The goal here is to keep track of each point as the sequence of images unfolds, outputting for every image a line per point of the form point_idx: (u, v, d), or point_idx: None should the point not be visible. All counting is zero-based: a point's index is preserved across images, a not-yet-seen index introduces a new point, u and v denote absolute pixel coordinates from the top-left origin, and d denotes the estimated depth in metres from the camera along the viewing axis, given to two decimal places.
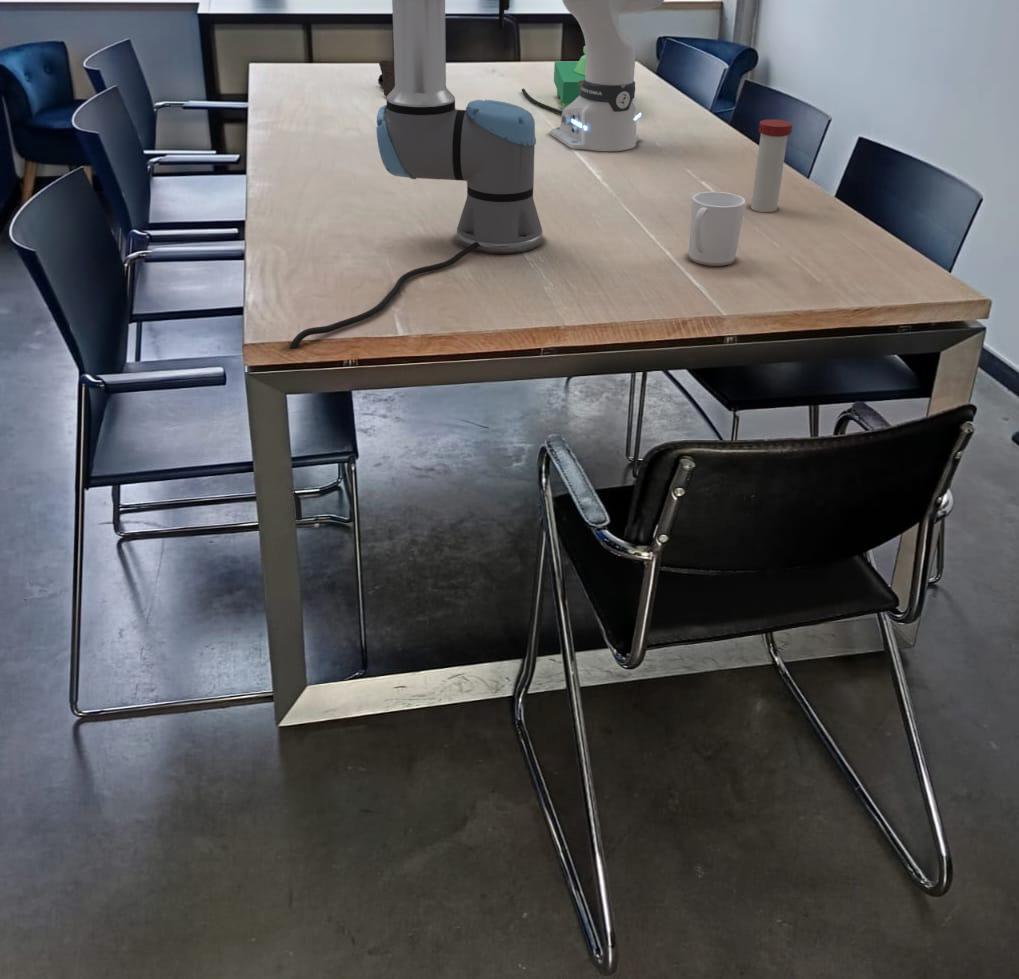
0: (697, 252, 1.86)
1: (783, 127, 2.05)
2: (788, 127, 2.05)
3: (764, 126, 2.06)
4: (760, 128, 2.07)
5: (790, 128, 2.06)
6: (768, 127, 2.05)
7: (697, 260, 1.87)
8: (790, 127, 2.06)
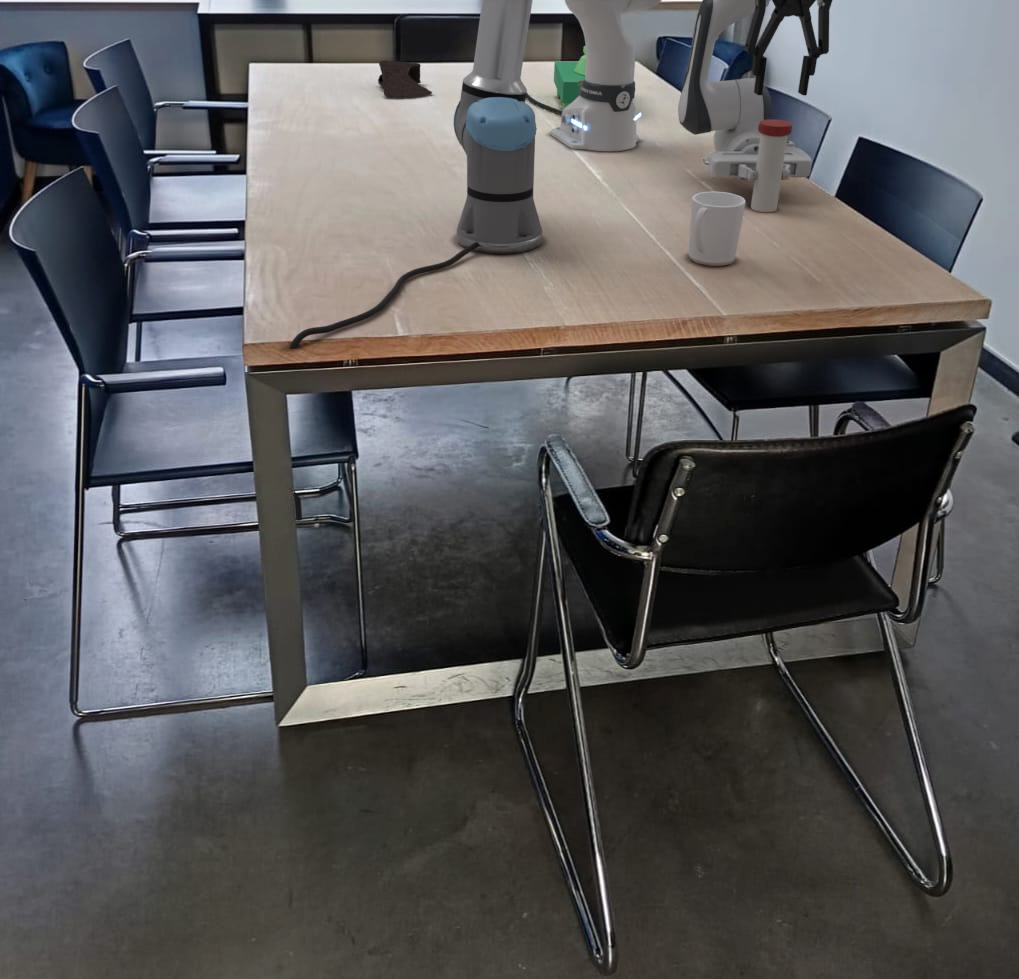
0: (697, 252, 1.86)
1: (783, 127, 2.05)
2: (788, 127, 2.05)
3: (764, 126, 2.06)
4: (760, 128, 2.07)
5: (790, 128, 2.06)
6: (768, 127, 2.05)
7: (697, 260, 1.87)
8: (790, 127, 2.06)
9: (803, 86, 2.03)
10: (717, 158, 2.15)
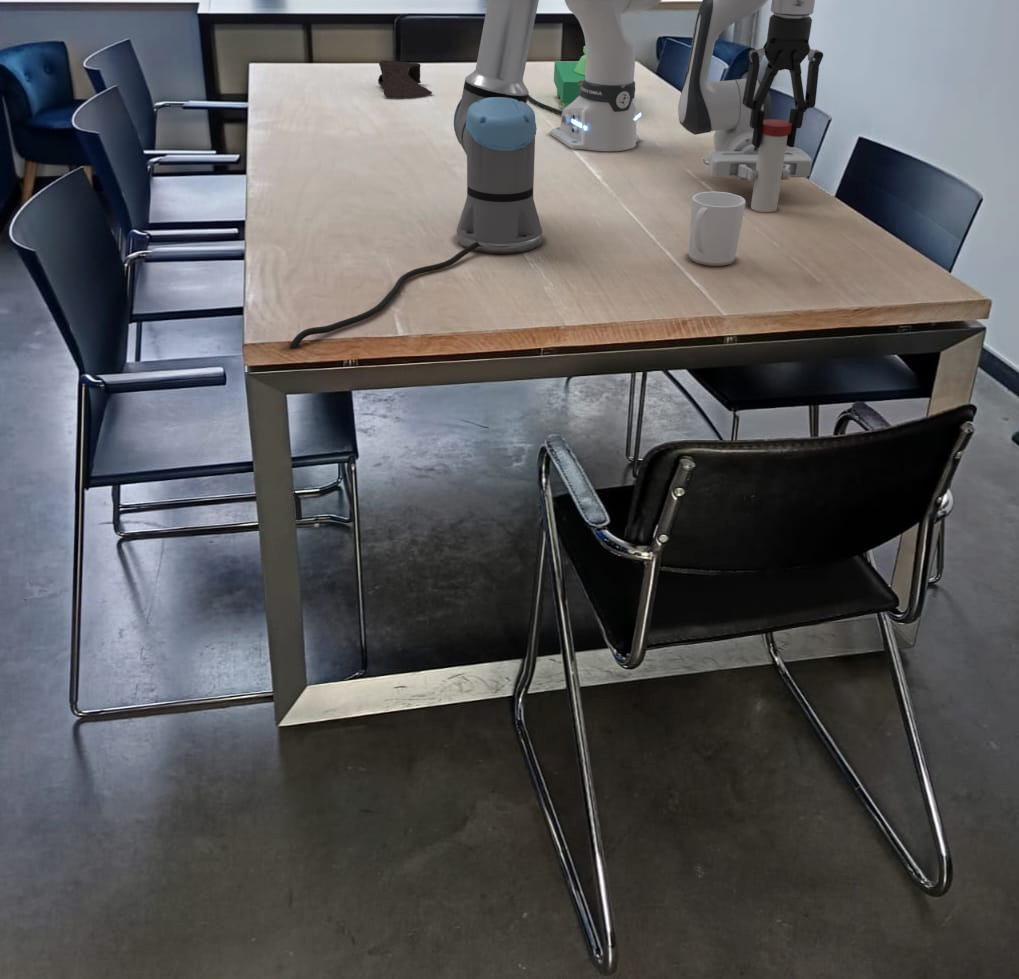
0: (697, 252, 1.86)
1: (783, 127, 2.05)
2: (788, 127, 2.05)
3: (764, 126, 2.06)
4: None
5: (790, 128, 2.06)
6: (768, 127, 2.05)
7: (697, 260, 1.87)
8: (790, 127, 2.06)
9: (790, 138, 2.08)
10: (717, 158, 2.15)
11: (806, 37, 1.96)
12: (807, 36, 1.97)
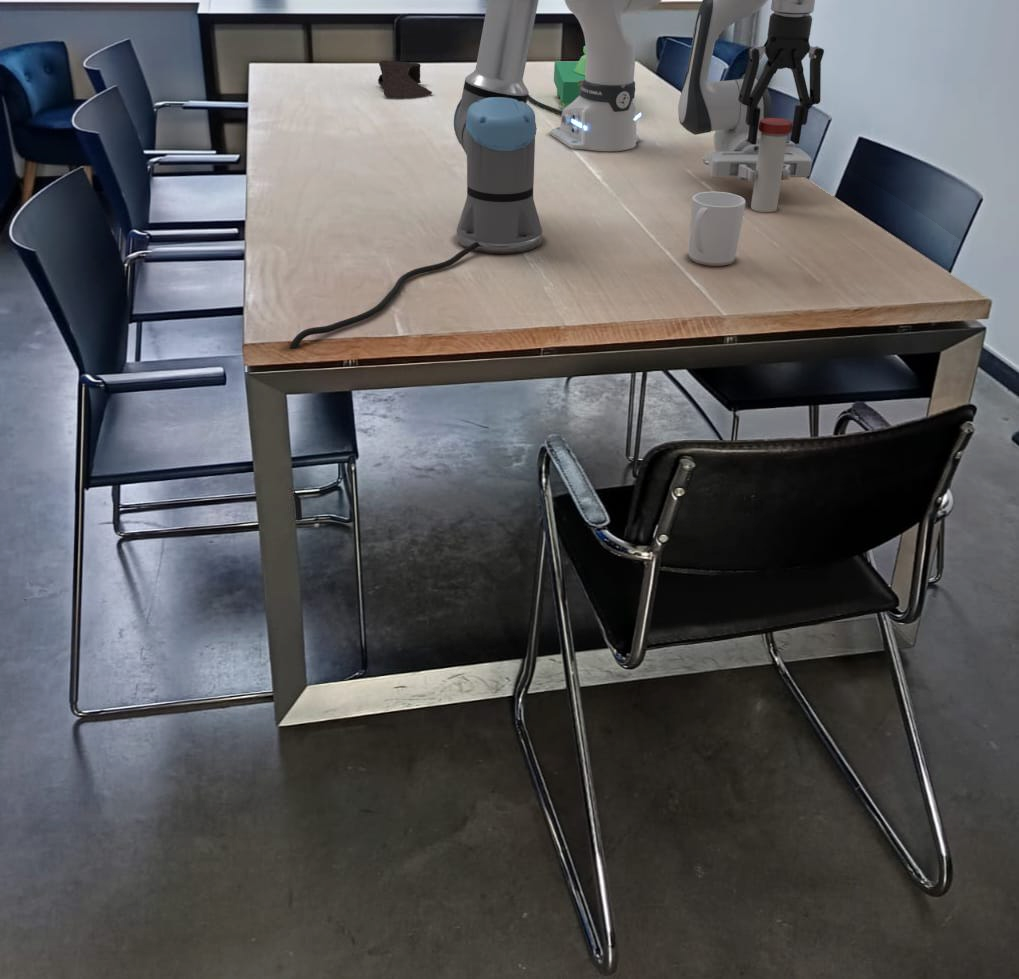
0: (697, 252, 1.86)
1: None
2: None
3: (786, 126, 2.05)
4: (779, 130, 2.05)
5: None
6: (789, 126, 2.05)
7: (697, 260, 1.87)
8: None
9: (795, 135, 2.08)
10: (717, 158, 2.15)
11: (807, 35, 1.96)
12: (808, 34, 1.97)
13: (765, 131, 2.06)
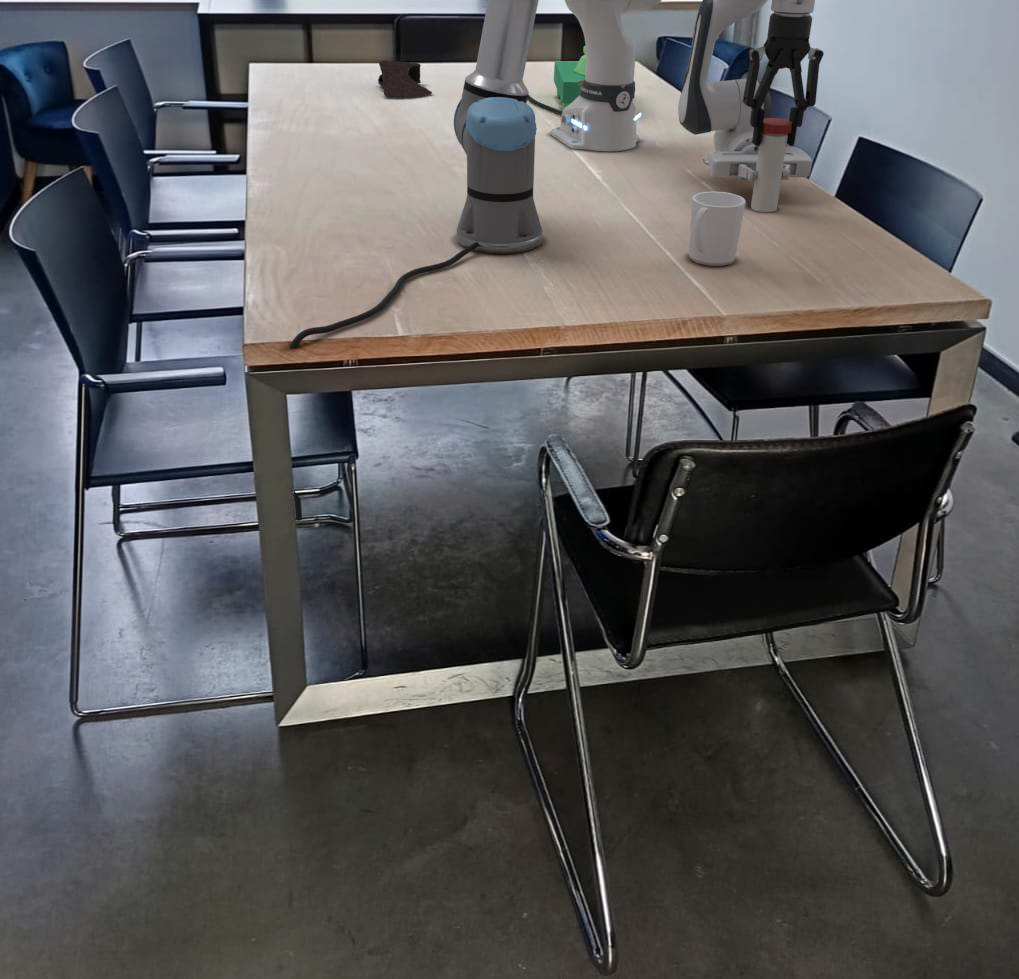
0: (697, 252, 1.86)
1: None
2: None
3: (786, 126, 2.05)
4: (779, 130, 2.05)
5: None
6: (789, 126, 2.05)
7: (697, 260, 1.87)
8: None
9: (790, 137, 2.08)
10: (717, 158, 2.15)
11: (806, 35, 1.96)
12: (807, 34, 1.96)
13: (765, 131, 2.06)
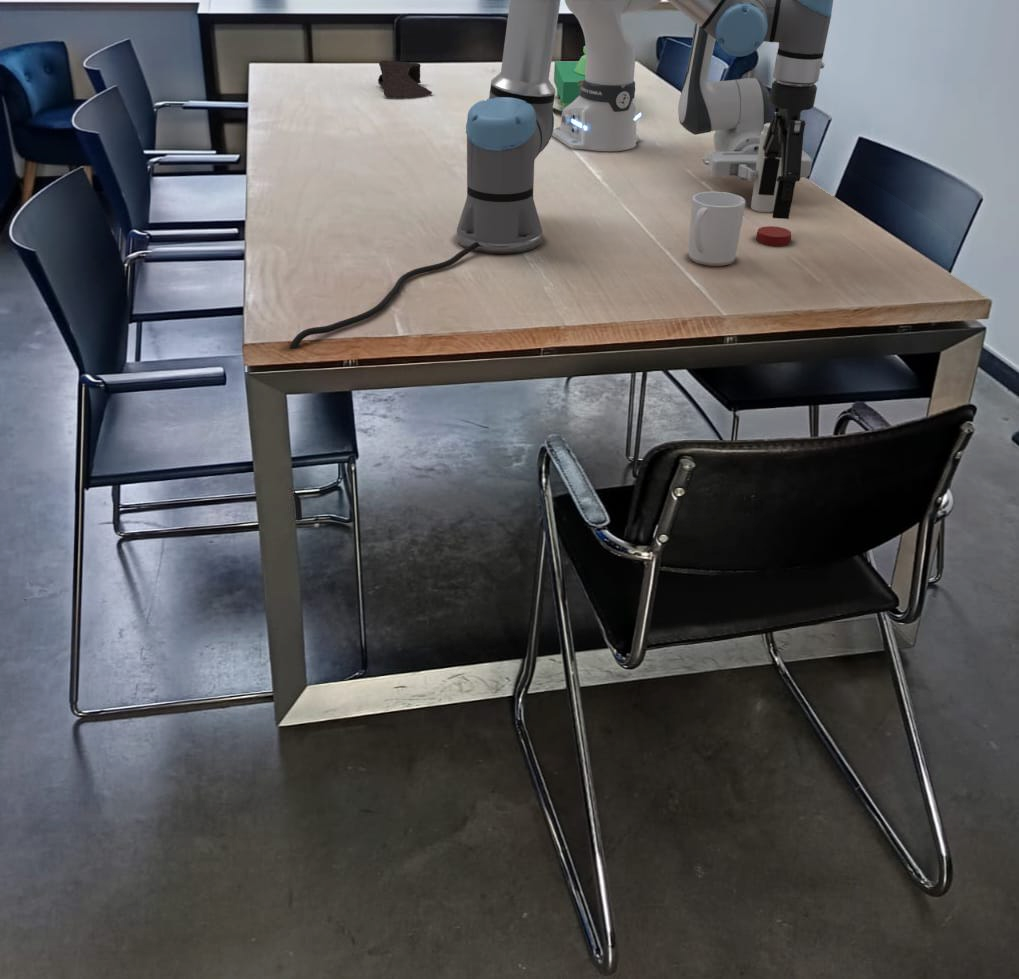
0: (697, 252, 1.86)
1: None
2: None
3: None
4: None
5: None
6: None
7: (697, 260, 1.87)
8: None
9: (773, 187, 2.00)
10: (717, 158, 2.15)
11: None
12: None
13: (785, 243, 1.97)
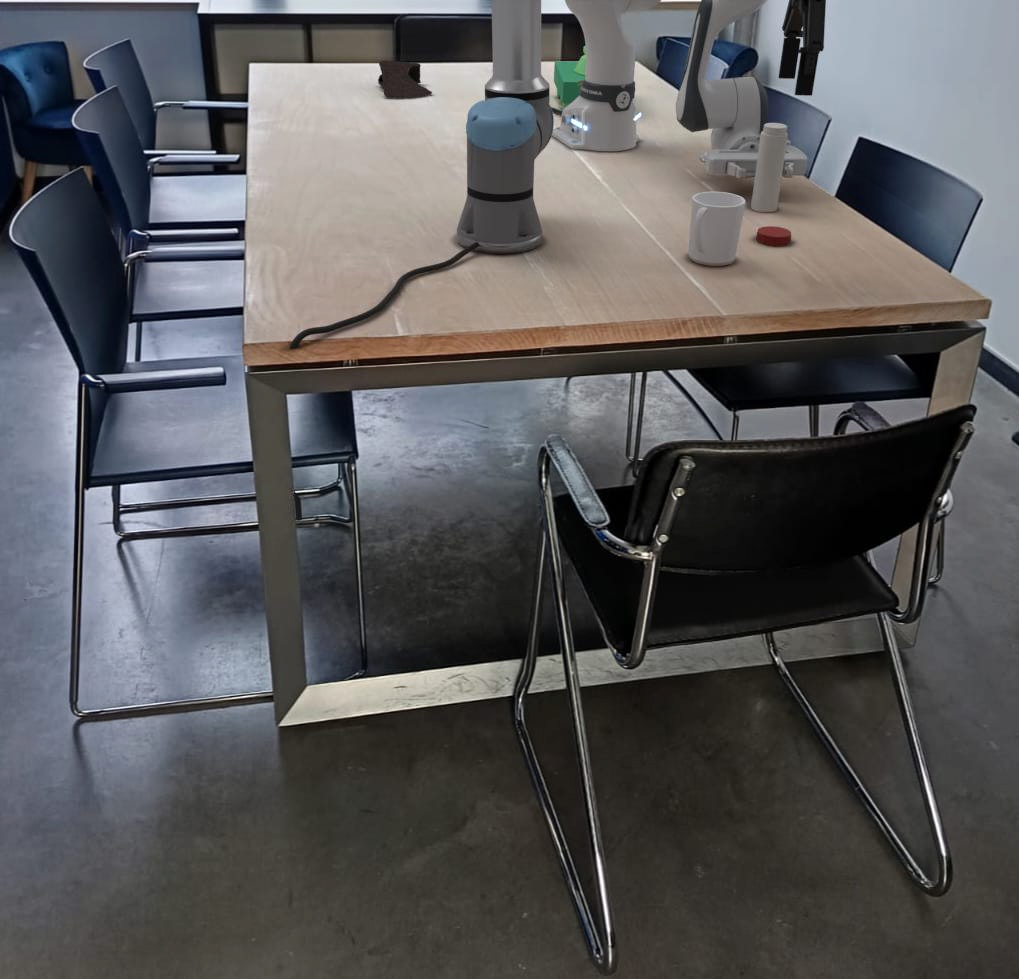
0: (697, 252, 1.86)
1: None
2: None
3: None
4: None
5: None
6: None
7: (697, 260, 1.87)
8: None
9: (793, 69, 1.90)
10: (713, 156, 2.16)
11: None
12: None
13: (785, 243, 1.97)
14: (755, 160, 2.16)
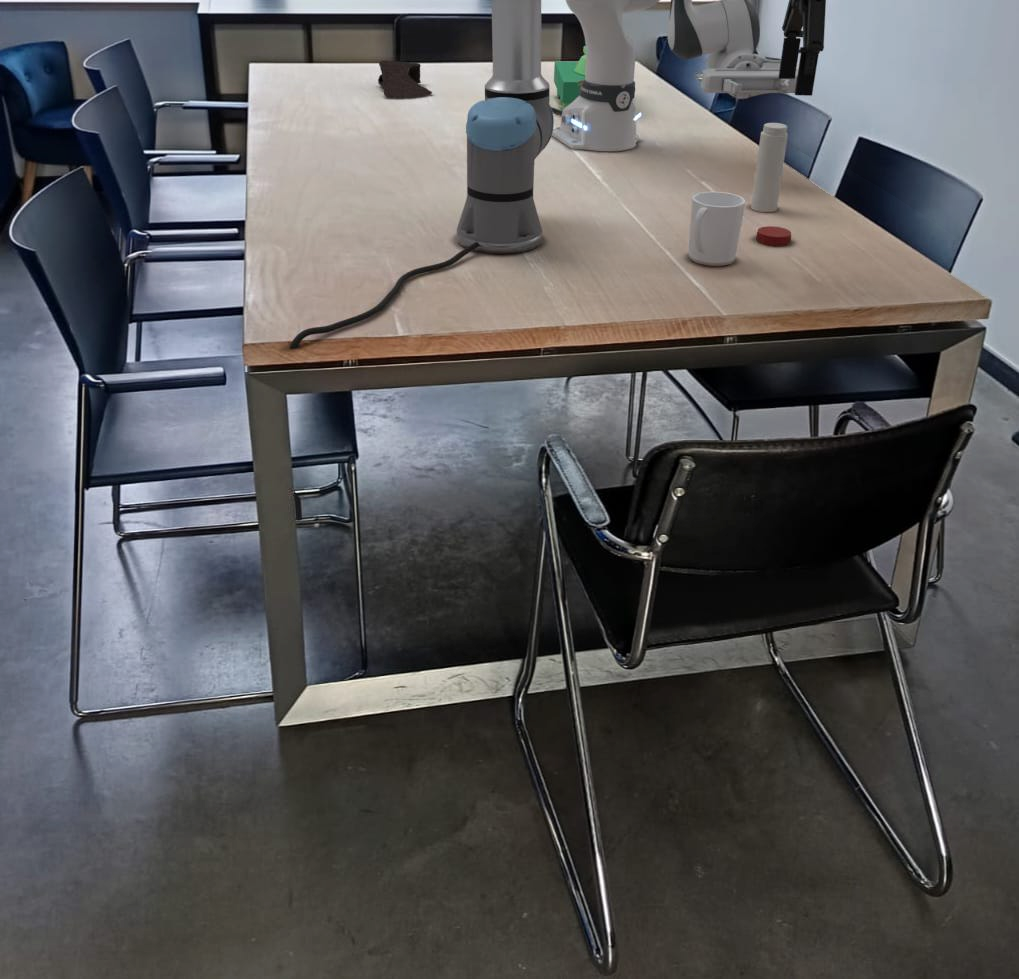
0: (697, 252, 1.86)
1: None
2: None
3: None
4: None
5: None
6: None
7: (697, 260, 1.87)
8: None
9: (794, 69, 1.90)
10: (710, 73, 2.18)
11: None
12: None
13: (785, 243, 1.97)
14: (751, 77, 2.18)
